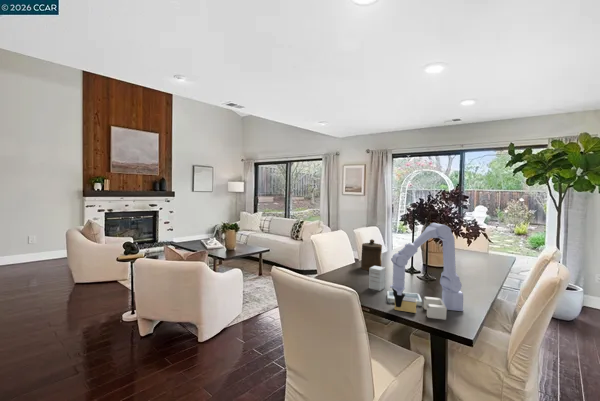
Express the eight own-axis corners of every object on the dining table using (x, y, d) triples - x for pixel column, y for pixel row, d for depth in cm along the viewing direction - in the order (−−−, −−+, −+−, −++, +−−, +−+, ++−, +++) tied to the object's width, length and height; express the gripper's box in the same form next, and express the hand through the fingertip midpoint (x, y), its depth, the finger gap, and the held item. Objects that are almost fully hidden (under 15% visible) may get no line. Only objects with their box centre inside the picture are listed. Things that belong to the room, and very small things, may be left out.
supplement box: (373, 285, 188) (374, 265, 187) (385, 288, 183) (385, 267, 182) (368, 288, 182) (369, 267, 181) (380, 291, 177) (380, 269, 177)
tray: (418, 298, 167) (419, 293, 167) (422, 306, 155) (422, 301, 155) (386, 294, 171) (387, 290, 171) (387, 302, 159) (387, 298, 159)
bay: (440, 308, 152) (440, 298, 152) (446, 319, 140) (446, 308, 140) (423, 307, 154) (423, 296, 154) (427, 317, 142) (428, 306, 141)
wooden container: (385, 269, 224) (386, 240, 223) (370, 272, 217) (371, 241, 216) (371, 265, 237) (372, 237, 236) (356, 267, 230) (357, 238, 229)
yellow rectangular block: (415, 309, 151) (416, 298, 150) (415, 313, 146) (416, 302, 146) (394, 306, 154) (395, 295, 154) (394, 309, 149) (394, 299, 149)
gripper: (389, 273, 158) (388, 298, 159) (391, 281, 144) (390, 309, 145) (403, 274, 157) (402, 299, 157) (406, 282, 143) (405, 310, 143)
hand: (397, 304), depth 151 cm, fingers closed on yellow rectangular block, 5 cm apart
